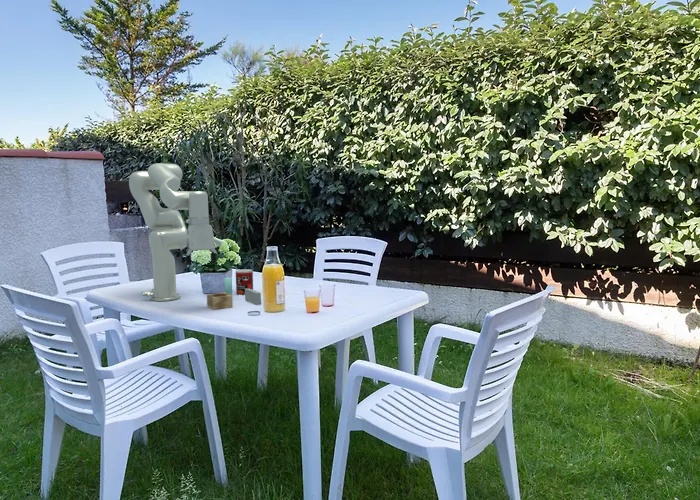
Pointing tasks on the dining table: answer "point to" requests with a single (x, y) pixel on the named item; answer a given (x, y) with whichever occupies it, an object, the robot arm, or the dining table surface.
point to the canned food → (244, 280)
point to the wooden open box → (219, 301)
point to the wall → (253, 296)
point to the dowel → (228, 285)
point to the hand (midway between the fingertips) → (201, 263)
